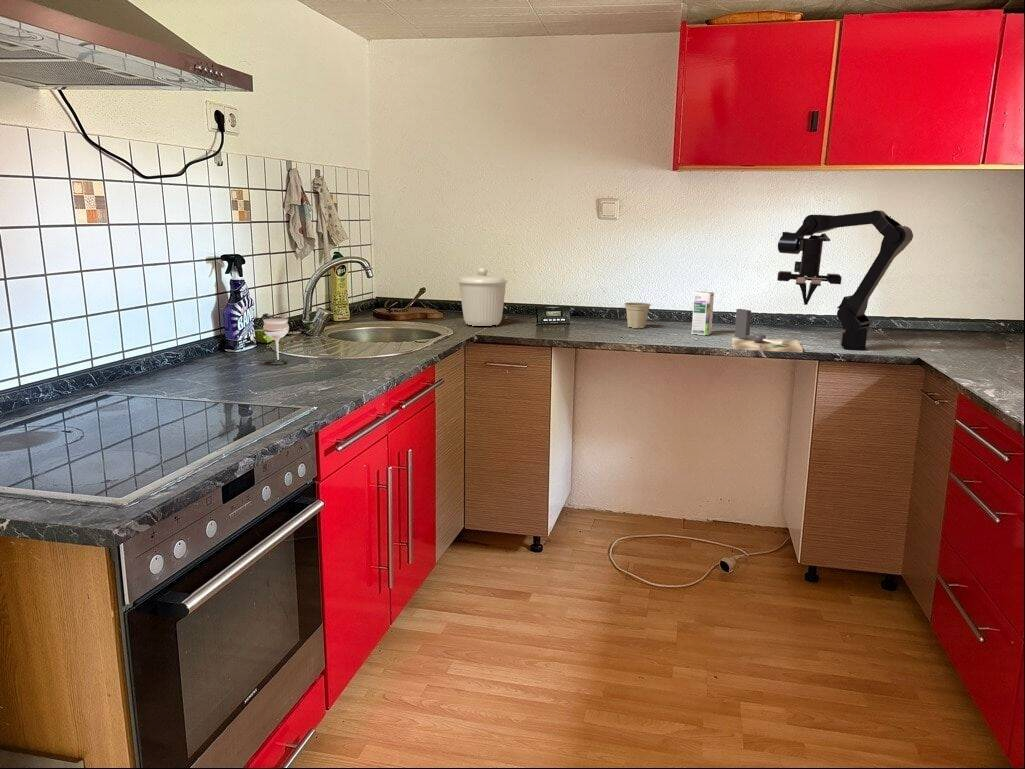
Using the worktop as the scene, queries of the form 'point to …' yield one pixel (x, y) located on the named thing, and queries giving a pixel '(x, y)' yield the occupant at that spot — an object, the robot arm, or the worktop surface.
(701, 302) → the syrup box
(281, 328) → the wineglass
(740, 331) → the peg
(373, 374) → the worktop surface
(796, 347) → the board
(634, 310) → the flower pot
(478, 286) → the canister
